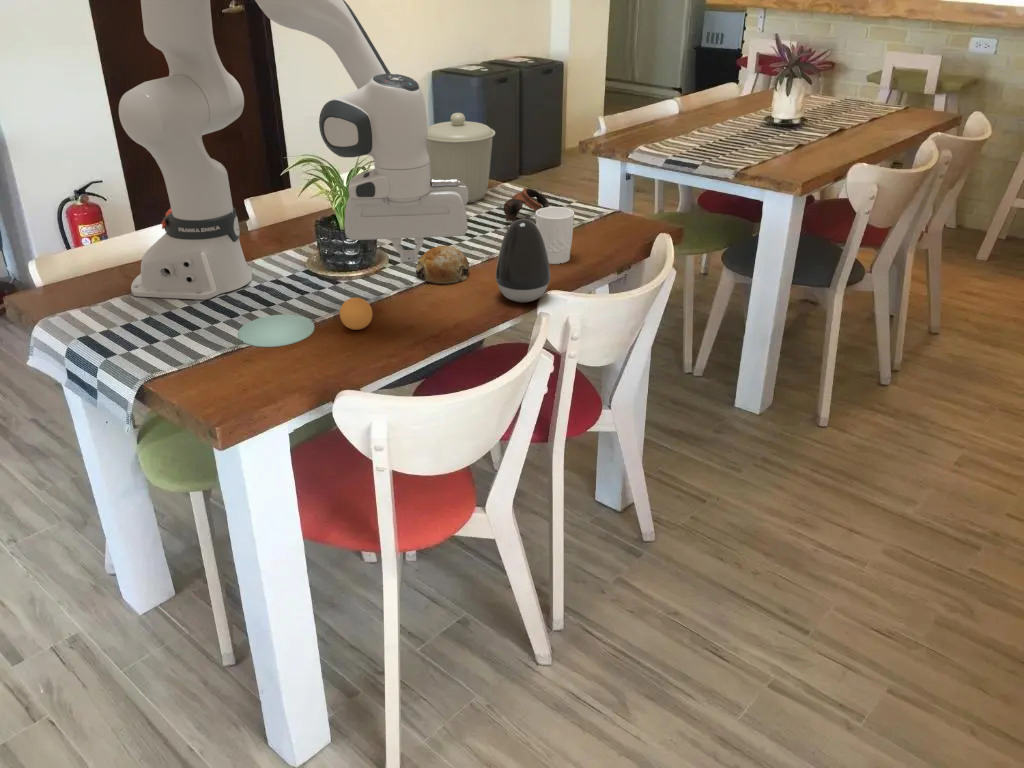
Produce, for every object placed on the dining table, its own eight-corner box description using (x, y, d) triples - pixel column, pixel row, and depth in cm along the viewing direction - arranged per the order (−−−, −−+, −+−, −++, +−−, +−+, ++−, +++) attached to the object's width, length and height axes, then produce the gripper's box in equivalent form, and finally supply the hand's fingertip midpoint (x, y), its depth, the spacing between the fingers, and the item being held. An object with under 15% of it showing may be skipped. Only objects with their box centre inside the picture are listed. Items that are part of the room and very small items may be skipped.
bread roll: (452, 303, 173) (468, 270, 169) (406, 279, 172) (421, 245, 168) (465, 285, 181) (480, 252, 177) (420, 261, 181) (435, 229, 177)
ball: (339, 335, 151) (336, 305, 149) (343, 322, 156) (340, 292, 154) (372, 334, 152) (369, 304, 149) (374, 321, 157) (372, 292, 154)
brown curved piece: (517, 212, 214) (535, 184, 210) (542, 237, 210) (560, 209, 206) (486, 211, 204) (504, 182, 200) (512, 237, 201) (530, 208, 197)
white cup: (578, 263, 182) (579, 216, 177) (541, 267, 180) (542, 220, 175) (565, 250, 188) (566, 205, 184) (530, 254, 186) (530, 208, 182)
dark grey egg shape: (553, 288, 170) (554, 211, 163) (546, 309, 161) (547, 229, 154) (501, 285, 171) (500, 209, 164) (491, 306, 162) (490, 226, 155)
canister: (471, 213, 212) (468, 124, 202) (410, 202, 220) (405, 115, 210) (509, 194, 225) (508, 110, 215) (450, 184, 233) (447, 102, 223)
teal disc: (230, 348, 147) (230, 347, 147) (246, 316, 158) (246, 315, 158) (309, 345, 148) (309, 344, 148) (319, 314, 159) (318, 313, 159)
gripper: (467, 173, 145) (470, 253, 152) (342, 177, 144) (351, 257, 151) (468, 183, 140) (471, 266, 146) (338, 188, 139) (347, 270, 145)
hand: (409, 261), depth 149 cm, fingers closed
